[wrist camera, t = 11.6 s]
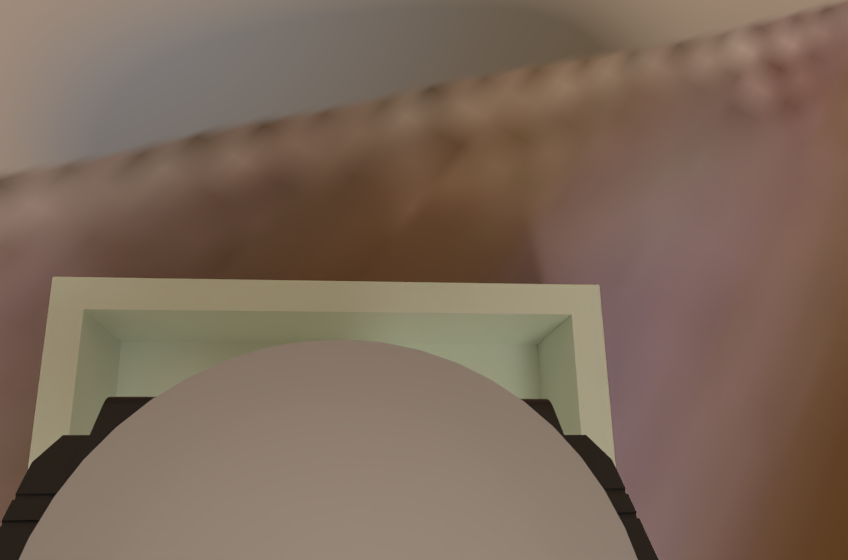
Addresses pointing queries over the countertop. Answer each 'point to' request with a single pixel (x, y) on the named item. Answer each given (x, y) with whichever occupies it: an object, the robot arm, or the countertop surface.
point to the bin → (315, 338)
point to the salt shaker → (332, 469)
